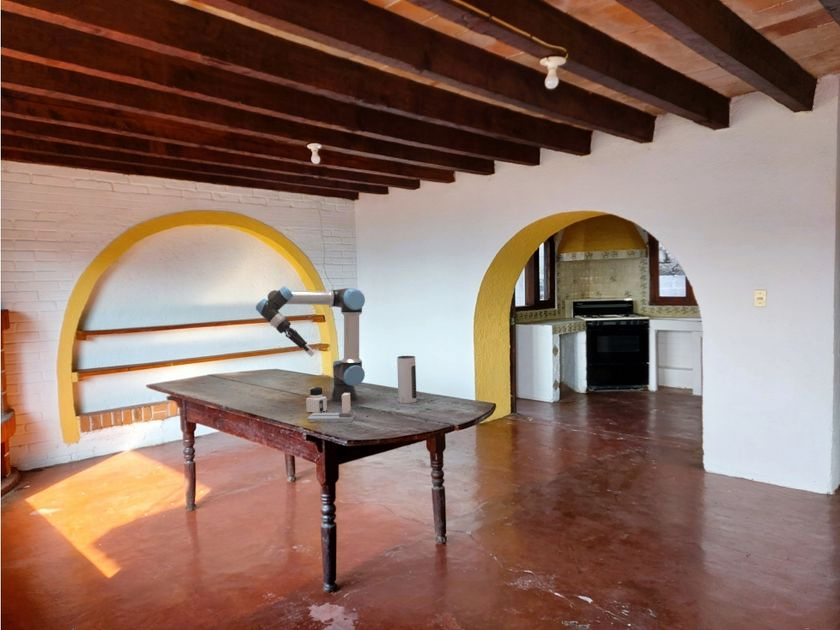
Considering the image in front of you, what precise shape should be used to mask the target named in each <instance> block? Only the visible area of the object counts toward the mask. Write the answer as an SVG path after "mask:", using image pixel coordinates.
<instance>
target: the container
mask: <svg viewBox="0 0 840 630" xmlns="http://www.w3.org/2000/svg"><path fill="white" fill-rule="evenodd" d="M327 400H328V399H327V396H324V395H323V388H322V387H320V386H316V387H315V386H314V387H313V386H312V387H311V388H310V389H309V397H307V398H306V401H305V403H306V413H307V412H314V413H319V412H322V411H325V412H327V411H328V406H327V405H328V404H327V403H328V401H327ZM326 410H327V411H326ZM322 413H323V412H322Z"/></svg>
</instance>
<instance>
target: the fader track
mask: <svg viewBox="0 0 840 630" xmlns="http://www.w3.org/2000/svg"><path fill="white" fill-rule="evenodd" d="M339 413H340V412H322V413H310V415H309V416H308V417H307V418H306V422H307V421H344V422H343V423H346V422H345V421H348V422H347V423H352V422H351V421H354V419H355V418H356V417H357V415H356V412H354V414H353V415H352V416H351V417H339ZM355 416H356V417H355ZM354 417H355V418H354Z"/></svg>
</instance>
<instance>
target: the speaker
mask: <svg viewBox="0 0 840 630" xmlns="http://www.w3.org/2000/svg"><path fill="white" fill-rule="evenodd" d="M396 359H397V360H396V362H397V364H396V365H397V367H396V368H397V391H398V392H397V394H398V396H397V397H398V403H399V404H402V403H404V404H405V405H406V403H410V404H415V403H417V401H418V400H417V380H416V379H417V372H416V367H417V366H416V365H417V364H416V356H414V355H400V356H397V358H396Z"/></svg>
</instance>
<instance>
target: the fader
mask: <svg viewBox="0 0 840 630" xmlns="http://www.w3.org/2000/svg"><path fill="white" fill-rule="evenodd" d="M351 405H352V404H351V401H350V393H344V394H343V395H342V402H341V411H340V412H338V413H339V417H351V416H352V415H353V414H354V413H355V410H354V409H351V407H352V406H351Z"/></svg>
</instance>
